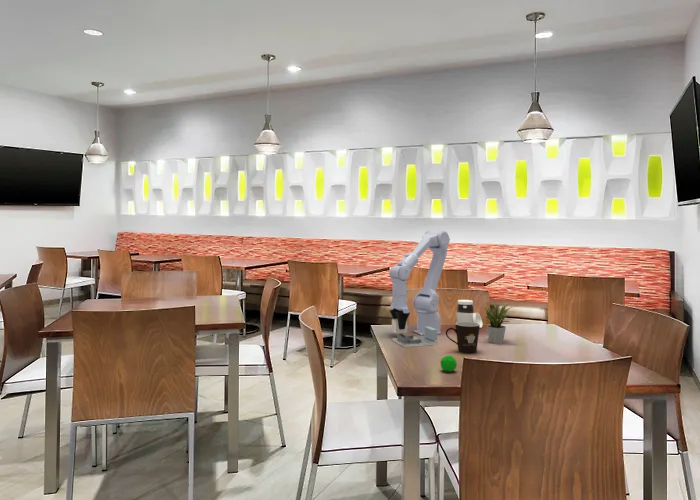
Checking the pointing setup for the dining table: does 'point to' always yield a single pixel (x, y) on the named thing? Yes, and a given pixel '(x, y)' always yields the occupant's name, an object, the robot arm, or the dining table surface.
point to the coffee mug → (466, 336)
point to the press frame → (413, 341)
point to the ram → (430, 333)
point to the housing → (396, 328)
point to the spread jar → (467, 312)
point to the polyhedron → (448, 363)
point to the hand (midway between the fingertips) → (399, 328)
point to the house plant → (496, 324)
